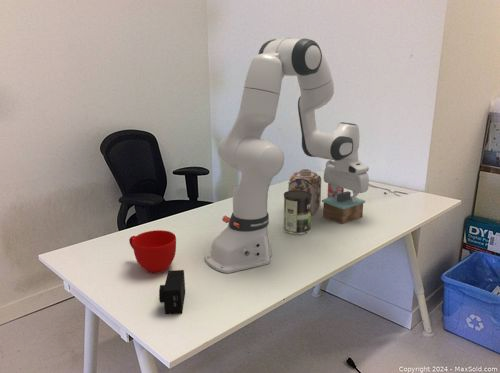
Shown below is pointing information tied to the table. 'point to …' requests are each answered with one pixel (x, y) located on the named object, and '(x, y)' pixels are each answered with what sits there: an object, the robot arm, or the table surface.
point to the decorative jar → (307, 186)
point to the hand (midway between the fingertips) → (343, 198)
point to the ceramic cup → (154, 250)
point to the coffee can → (297, 211)
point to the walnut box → (342, 213)
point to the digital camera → (173, 292)
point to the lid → (343, 200)
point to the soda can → (330, 192)
